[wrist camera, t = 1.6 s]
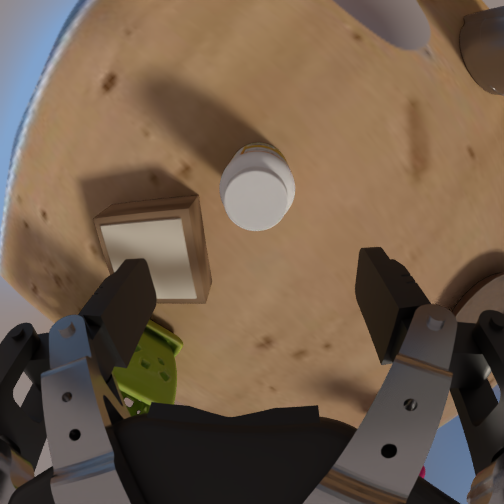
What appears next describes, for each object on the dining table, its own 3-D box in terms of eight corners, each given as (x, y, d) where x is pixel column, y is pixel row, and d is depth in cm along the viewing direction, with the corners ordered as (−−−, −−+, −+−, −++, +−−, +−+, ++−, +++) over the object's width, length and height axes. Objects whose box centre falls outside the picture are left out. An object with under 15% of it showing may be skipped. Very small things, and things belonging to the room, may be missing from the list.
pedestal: (111, 204, 28) (92, 219, 24) (198, 195, 27) (187, 209, 23) (133, 282, 33) (119, 303, 29) (212, 281, 32) (205, 305, 28)
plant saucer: (480, 350, 38) (486, 361, 35) (416, 350, 37) (423, 364, 34) (528, 271, 30) (538, 281, 27) (473, 252, 29) (485, 264, 26)
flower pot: (197, 332, 36) (176, 414, 25) (159, 377, 42) (139, 442, 30) (104, 276, 33) (53, 346, 21) (85, 334, 38) (50, 394, 27)
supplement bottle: (252, 208, 28) (246, 256, 19) (218, 164, 26) (194, 193, 17) (299, 177, 26) (316, 212, 17) (265, 130, 24) (265, 141, 16)
